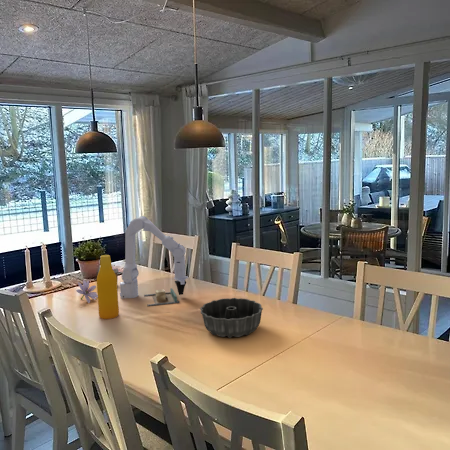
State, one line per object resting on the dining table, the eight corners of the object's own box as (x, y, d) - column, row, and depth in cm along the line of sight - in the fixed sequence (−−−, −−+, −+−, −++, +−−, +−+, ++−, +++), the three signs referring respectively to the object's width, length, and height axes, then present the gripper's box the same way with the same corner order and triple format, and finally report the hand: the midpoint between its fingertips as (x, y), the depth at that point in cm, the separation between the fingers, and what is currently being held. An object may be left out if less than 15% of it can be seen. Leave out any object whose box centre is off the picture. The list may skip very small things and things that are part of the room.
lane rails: (147, 308, 216) (147, 305, 216) (144, 297, 233) (144, 294, 233) (179, 304, 220) (179, 301, 220) (174, 294, 237) (173, 291, 237)
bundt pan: (208, 346, 170) (208, 322, 169) (195, 323, 195) (194, 301, 194) (272, 338, 177) (272, 314, 176) (251, 316, 202) (250, 295, 201)
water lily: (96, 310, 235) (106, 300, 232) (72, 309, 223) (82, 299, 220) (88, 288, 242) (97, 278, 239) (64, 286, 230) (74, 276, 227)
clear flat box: (155, 306, 219) (155, 298, 218) (152, 297, 233) (151, 290, 232) (177, 303, 221) (176, 296, 221) (172, 295, 236) (172, 288, 235)
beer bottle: (113, 319, 201) (110, 258, 197) (95, 318, 203) (91, 257, 199) (122, 313, 210) (118, 253, 206) (104, 312, 212) (100, 253, 208)
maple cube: (156, 301, 224) (156, 292, 223) (155, 298, 228) (155, 290, 227) (165, 300, 225) (165, 291, 224) (164, 297, 229) (164, 289, 229)
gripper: (190, 271, 221) (191, 297, 223) (184, 265, 235) (185, 289, 237) (176, 273, 219) (177, 299, 221) (171, 266, 233) (172, 291, 235)
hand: (180, 294), depth 229 cm, fingers closed
